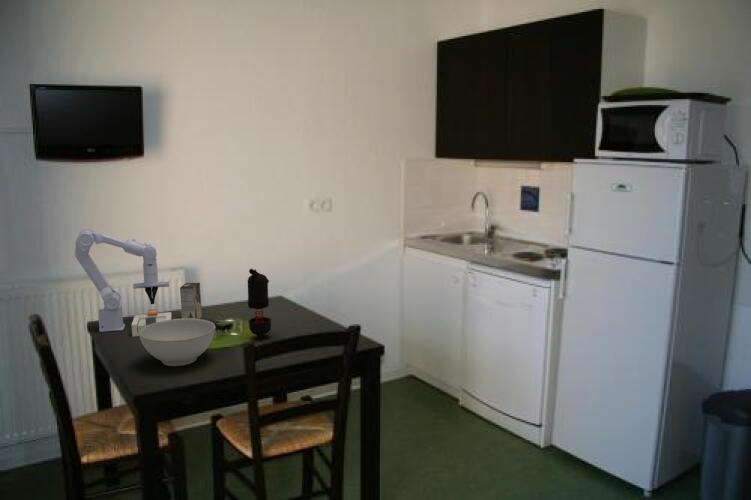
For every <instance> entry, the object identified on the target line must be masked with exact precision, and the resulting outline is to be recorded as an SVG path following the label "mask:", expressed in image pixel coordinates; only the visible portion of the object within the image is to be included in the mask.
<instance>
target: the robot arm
mask: <svg viewBox="0 0 751 500" xmlns="http://www.w3.org/2000/svg"><path fill="white" fill-rule="evenodd" d="M94 243H95V245H99V244H102V243H103V244H108V245H111V246H114V247H117V248H120V249H121V248H122V249H123V251H124V252H125V253H126V254H131V255H133V256H136V257H139V258H140V257H142V261H143V263H142V270H143V282H139V283H133V284H132V287H133V290H137V289H144V291H145V293H146V295H147V298H148V300H149V302H150V305H154V304H155V301H156V296H157V292H158V289H159V288H170V282H169V281H159V276H158V275H159V273H158V263H157V255H158V253H157V250H156V248H155V246H153V245H152V244H148V243H146V242H144V243H142V242H140V241H137V240H136V239H135V238H132V239H131V238H129V239H127V240H124V239H121V238H118V237H116V236H112V235H110V234H107V233H104V232H103V231H102V232H101V231H98V230H92V229H89V228H85V229H82V230H81V231H79V233H78V236H77V238H76V240H75V249H74V250H75V252H74V255H75V258H76V261H78V263H79V264H80V265H81V267H82V269H83V271H84V272H85V273H86V275H87V276H88V278H89V279H90V281H91V282H92V283H93V285H94V286H95V287H96V289H97V290H98V293H99V294H100V297H101V298H102V301H103V308H101V309H98V313H97V314H98V315H97V316H98V326H99V327H98V328H99V330H98V331H99V332H100V333H101V332H102V333H103V332H104V333H105V332H112V331H113V332H116V331H124V329H125V327H126V323H124V317H123V315H124V314H123V306H122V305H121V295H120V293H119V292H118V291H117V290H115V289H114V288H113V287H112V286H111V285H110V284H109V282H108V281H107V279H106V278H105V276H104V275H103V273H102V272H101V271H100V269H99V268H98V266H97V264H96V263H95V261H94V260H93V259H92V257H91V256H90V254H89V253H90V249H91V247H93V245H94Z"/></svg>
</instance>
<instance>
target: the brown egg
mask: <svg viewBox="0 0 751 500" xmlns="http://www.w3.org/2000/svg"><path fill="white" fill-rule="evenodd" d="M156 313H159V309H158V308H157V309H156V308H152V309H148V310H146V314H149V315H150V316H156Z"/></svg>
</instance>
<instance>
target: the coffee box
mask: <svg viewBox="0 0 751 500" xmlns="http://www.w3.org/2000/svg"><path fill="white" fill-rule="evenodd" d="M179 292H180V293H179V294H180V308H181V319H182V318H194V319H198V318H199V319H201V318H202V316H203V314H202V299H201V297H202V295H201V282H186V283H183V284H182V286H180V287H179Z"/></svg>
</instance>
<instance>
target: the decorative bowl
mask: <svg viewBox="0 0 751 500" xmlns="http://www.w3.org/2000/svg"><path fill="white" fill-rule="evenodd" d="M215 333H216V325H215V323H213V322H212V321H209V320H207V319H201V318H199V319H194V318H182V317H181V318H173V319H171V320H165V321H160V322H156V323H153V324H150V325H147V326H145V327H144V328H142V329H141V330H140V331H139V336H138V337H139V340H140V342H141V344H142V345H143V347H144V348H145V350H146V351H147V352H148V353H149V354H150V355H151V356H152V357H154V358H155V359H157V360H159V361H161V363H162V364H163V365H165V366H169V367H180V366H186V365H190V364H192V363H195V361H197V359H198V357H200V356H201V355H202V354H203V353H204V352H205V351H206V350H207V348H209V346H210V345H211V343H212V341H213V338H214V336H215Z"/></svg>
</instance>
